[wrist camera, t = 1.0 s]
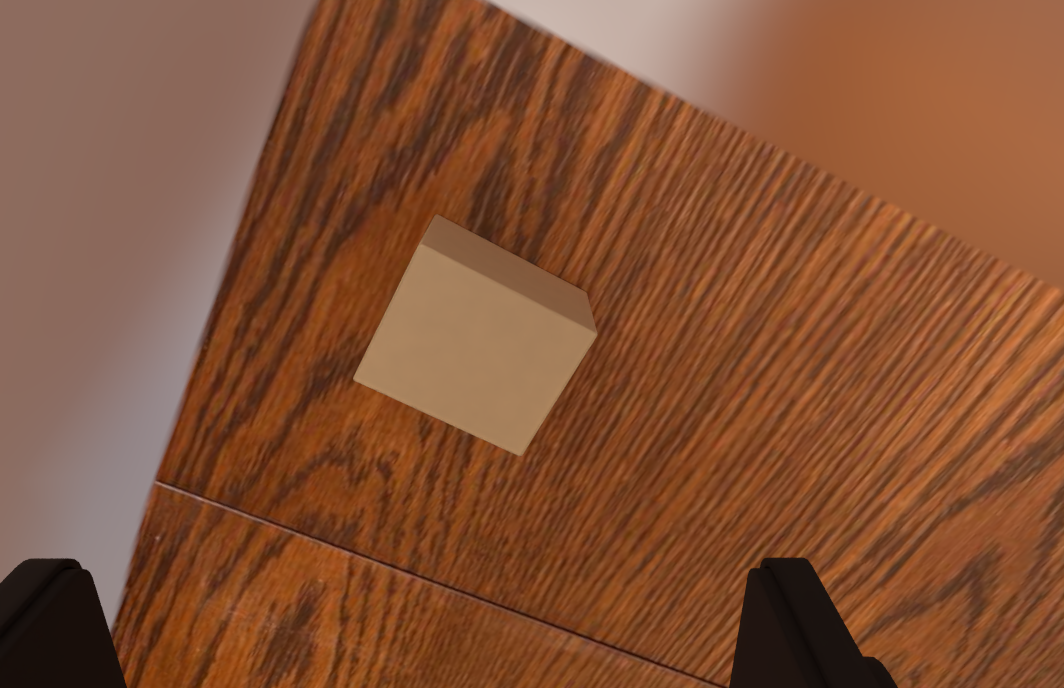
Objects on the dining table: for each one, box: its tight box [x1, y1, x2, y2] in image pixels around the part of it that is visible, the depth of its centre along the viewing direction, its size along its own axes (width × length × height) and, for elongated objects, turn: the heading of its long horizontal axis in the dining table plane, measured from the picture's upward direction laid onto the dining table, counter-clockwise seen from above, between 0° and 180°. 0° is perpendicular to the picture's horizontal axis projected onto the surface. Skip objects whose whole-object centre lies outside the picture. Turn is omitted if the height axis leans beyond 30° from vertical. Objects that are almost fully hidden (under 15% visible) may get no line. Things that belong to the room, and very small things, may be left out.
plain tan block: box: [353, 214, 597, 456], centre depth 23 cm, size 5×6×4 cm
